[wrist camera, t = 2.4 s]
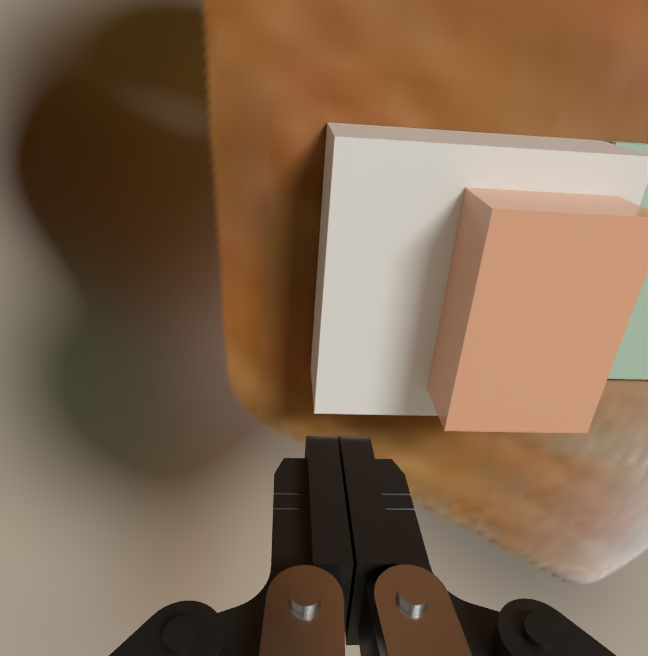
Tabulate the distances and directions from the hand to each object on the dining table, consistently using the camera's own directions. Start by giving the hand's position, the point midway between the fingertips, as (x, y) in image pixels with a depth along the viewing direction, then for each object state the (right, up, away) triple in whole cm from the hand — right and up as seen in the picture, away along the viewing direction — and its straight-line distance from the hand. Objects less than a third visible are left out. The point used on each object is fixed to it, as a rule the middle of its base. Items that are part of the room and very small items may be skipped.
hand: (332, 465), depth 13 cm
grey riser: (+5, +6, +13) cm, 15 cm away
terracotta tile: (+8, +4, +8) cm, 12 cm away
